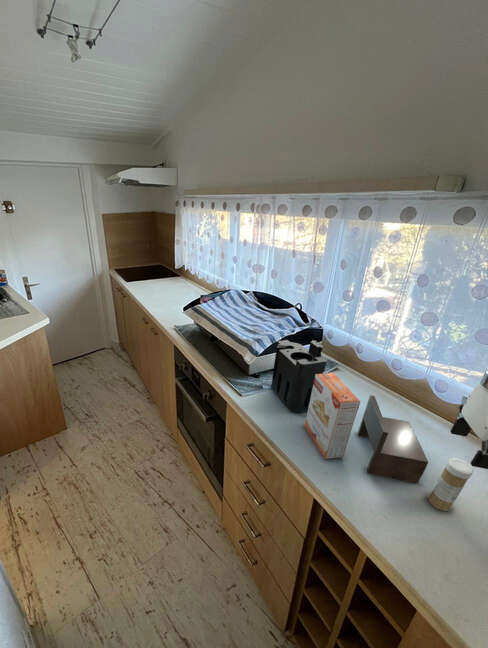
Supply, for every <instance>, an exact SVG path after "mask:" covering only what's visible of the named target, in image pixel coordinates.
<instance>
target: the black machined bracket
mask: <svg viewBox="0 0 488 648" xmlns="http://www.w3.org/2000/svg"><path fill="white" fill-rule="evenodd" d="M323 349H324V346H323V345H322V344H318V341H317V340H313V339H312V341H310V342H309V347H308V349H307V348H306V347H305V346H304V345H302V344H300V343H297V342H292V341H289V339H285V340H277V343H276V350H275V357H274V364H273V370H272V378H271V385H270V388H271V390H272V391H273V393H274V394H275V395H276V396H277V397H278V399H279V400H280V401H281V402H282V403H283V405H284V406H285V407H286V409H288V410H289V411H291V412H292V413H304V412H308V408H309V403H310V399H311V394H312V389H313V384H314V380H315V375H316V374H324V373H325V370H326V366H327V363H328V361H329V359H327V358H326V357H325V356H322V352H323Z"/></svg>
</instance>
